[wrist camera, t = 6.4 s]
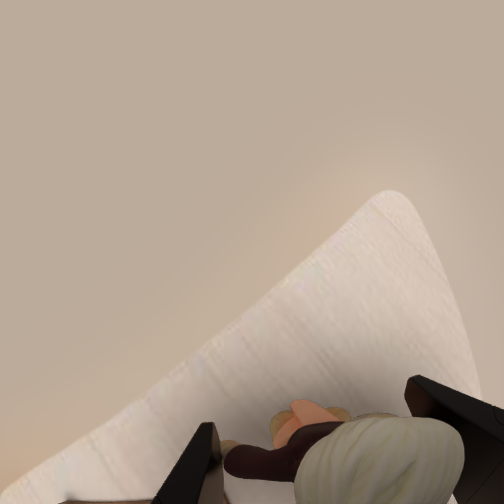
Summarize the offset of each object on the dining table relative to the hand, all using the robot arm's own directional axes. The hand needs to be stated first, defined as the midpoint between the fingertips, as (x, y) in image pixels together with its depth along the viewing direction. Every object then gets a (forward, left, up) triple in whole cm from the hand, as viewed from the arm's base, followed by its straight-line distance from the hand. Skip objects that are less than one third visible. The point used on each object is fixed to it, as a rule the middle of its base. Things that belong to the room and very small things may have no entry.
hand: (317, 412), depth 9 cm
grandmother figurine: (-1, +1, -7) cm, 7 cm away
